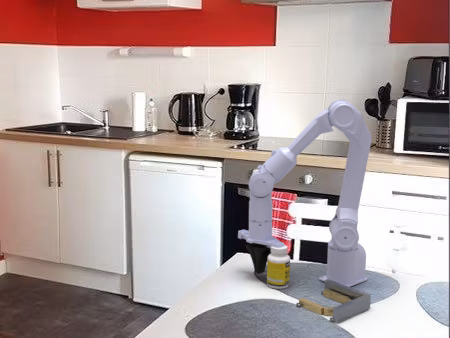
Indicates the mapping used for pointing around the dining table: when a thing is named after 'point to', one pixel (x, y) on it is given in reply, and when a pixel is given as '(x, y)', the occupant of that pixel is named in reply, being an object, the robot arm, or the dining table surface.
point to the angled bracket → (348, 296)
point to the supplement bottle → (278, 268)
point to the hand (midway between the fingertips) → (259, 272)
